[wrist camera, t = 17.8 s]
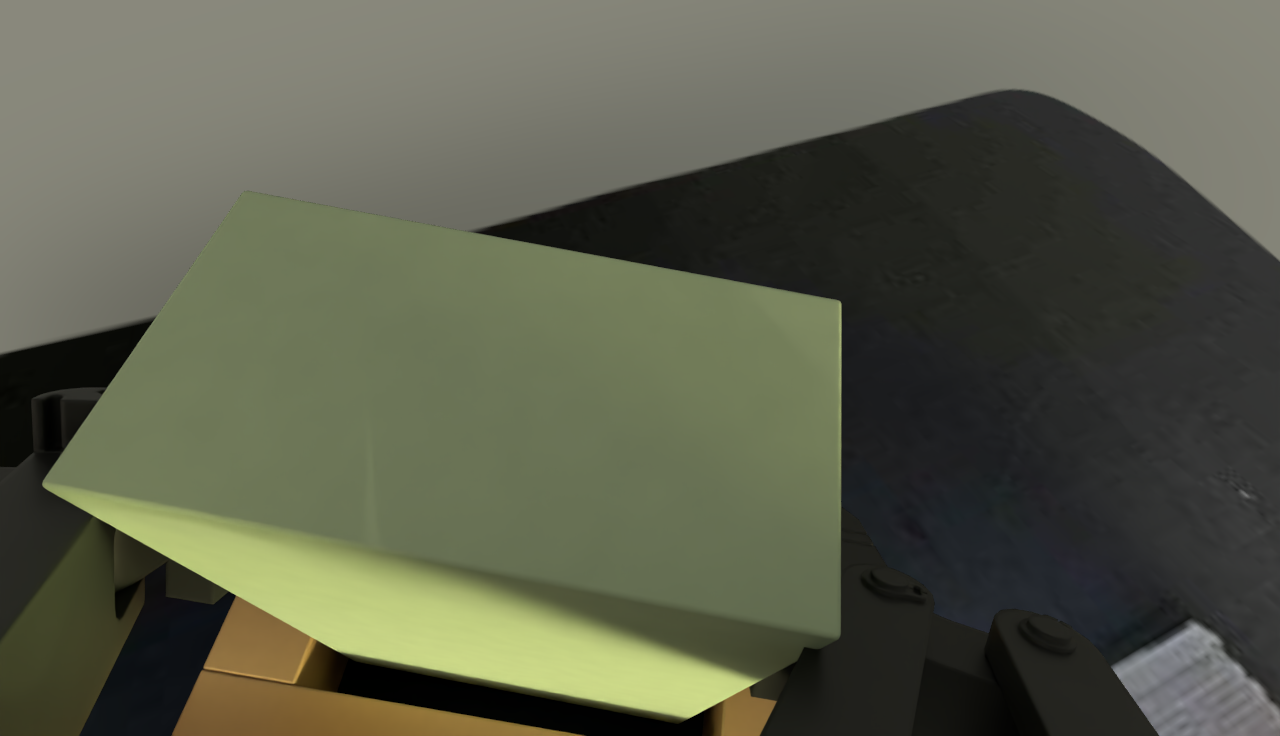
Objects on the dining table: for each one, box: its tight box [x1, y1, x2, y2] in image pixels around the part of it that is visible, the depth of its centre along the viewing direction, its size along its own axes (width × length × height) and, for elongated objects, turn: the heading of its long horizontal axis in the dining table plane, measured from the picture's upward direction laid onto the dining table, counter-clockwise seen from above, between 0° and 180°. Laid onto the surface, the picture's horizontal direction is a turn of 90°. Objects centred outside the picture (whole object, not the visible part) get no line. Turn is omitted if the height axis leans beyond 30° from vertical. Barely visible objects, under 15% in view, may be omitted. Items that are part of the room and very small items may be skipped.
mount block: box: [172, 595, 777, 736], centre depth 18 cm, size 14×14×3 cm
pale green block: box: [42, 191, 841, 724], centre depth 13 cm, size 4×8×12 cm, turn 80°
